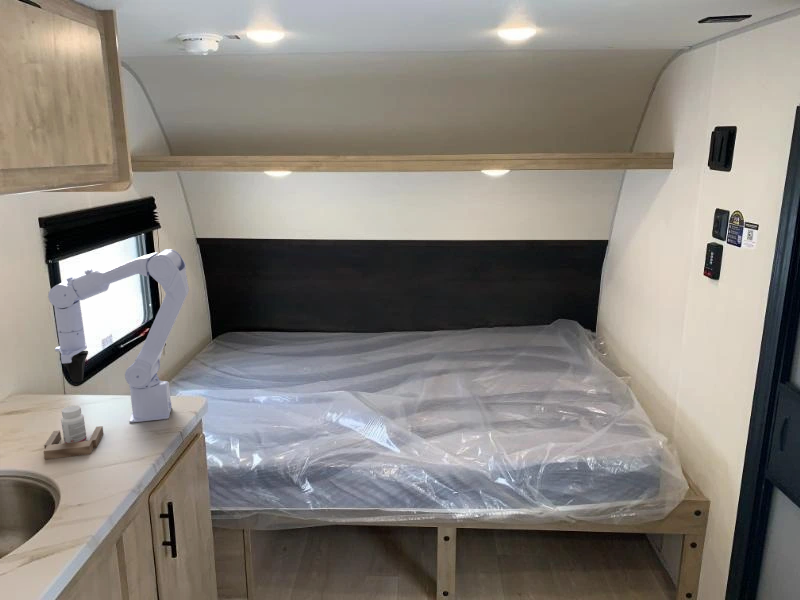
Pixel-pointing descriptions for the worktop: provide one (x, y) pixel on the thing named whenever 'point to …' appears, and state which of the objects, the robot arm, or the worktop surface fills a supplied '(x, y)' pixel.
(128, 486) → the worktop surface
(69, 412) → the pill bottle
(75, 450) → the notched board
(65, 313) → the robot arm
